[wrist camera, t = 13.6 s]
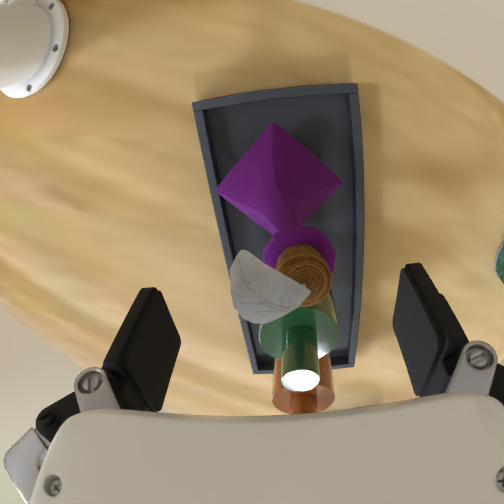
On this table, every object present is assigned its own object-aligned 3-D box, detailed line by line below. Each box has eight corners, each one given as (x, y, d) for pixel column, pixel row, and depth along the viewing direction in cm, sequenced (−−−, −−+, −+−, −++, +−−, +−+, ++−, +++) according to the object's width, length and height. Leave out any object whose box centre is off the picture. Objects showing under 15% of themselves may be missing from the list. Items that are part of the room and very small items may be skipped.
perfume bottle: (337, 171, 27) (407, 301, 11) (283, 226, 30) (282, 387, 14) (274, 116, 25) (264, 175, 9) (221, 178, 28) (150, 311, 12)
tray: (197, 101, 25) (191, 102, 23) (351, 83, 23) (357, 83, 21) (254, 362, 41) (253, 374, 40) (352, 355, 39) (354, 367, 38)
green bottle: (262, 236, 31) (247, 355, 18) (323, 230, 30) (349, 347, 17) (269, 285, 34) (261, 405, 21) (325, 280, 33) (343, 400, 20)
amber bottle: (273, 306, 35) (265, 423, 22) (325, 301, 34) (340, 418, 21) (278, 341, 38) (273, 449, 25) (325, 337, 37) (335, 446, 24)
